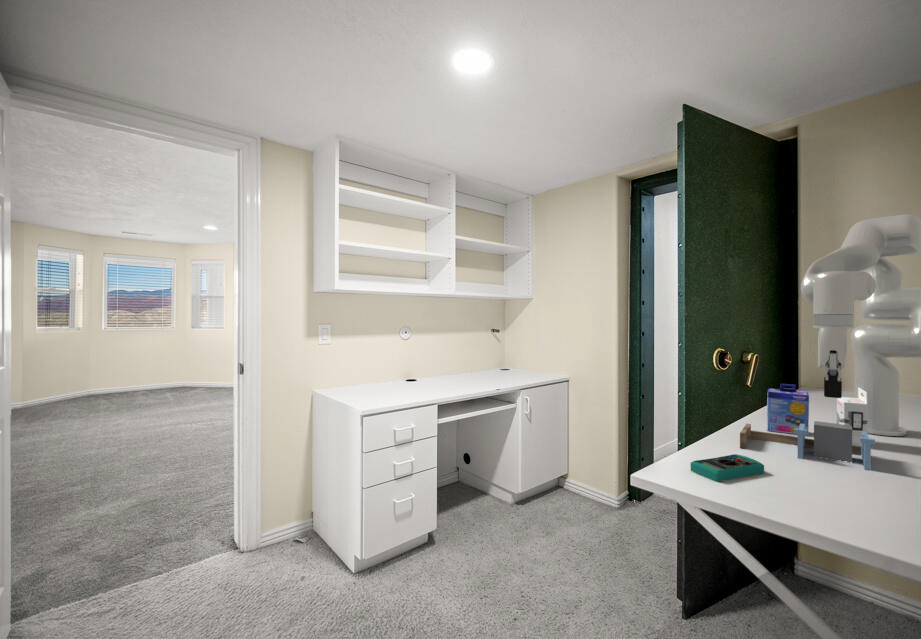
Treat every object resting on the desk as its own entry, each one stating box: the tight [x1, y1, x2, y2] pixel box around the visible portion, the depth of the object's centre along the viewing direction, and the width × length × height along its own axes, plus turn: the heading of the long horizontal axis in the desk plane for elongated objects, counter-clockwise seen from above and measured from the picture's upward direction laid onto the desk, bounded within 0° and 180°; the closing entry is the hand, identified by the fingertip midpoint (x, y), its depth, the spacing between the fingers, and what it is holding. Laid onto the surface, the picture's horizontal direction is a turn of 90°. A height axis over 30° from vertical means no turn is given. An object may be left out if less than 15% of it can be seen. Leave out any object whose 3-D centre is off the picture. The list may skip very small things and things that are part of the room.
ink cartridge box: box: [766, 383, 810, 437], centre depth 127 cm, size 10×6×14 cm, turn 54°
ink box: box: [836, 387, 867, 446], centre depth 116 cm, size 8×5×15 cm, turn 149°
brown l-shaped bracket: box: [739, 423, 861, 456], centre depth 110 cm, size 13×25×4 cm, turn 49°
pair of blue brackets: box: [794, 424, 876, 471], centre depth 105 cm, size 12×14×7 cm
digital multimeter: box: [690, 454, 765, 483], centre depth 97 cm, size 7×15×3 cm, turn 109°
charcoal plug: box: [813, 420, 853, 463], centre depth 105 cm, size 4×7×8 cm, turn 49°
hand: (832, 394), depth 105 cm, fingers open, 5 cm apart
